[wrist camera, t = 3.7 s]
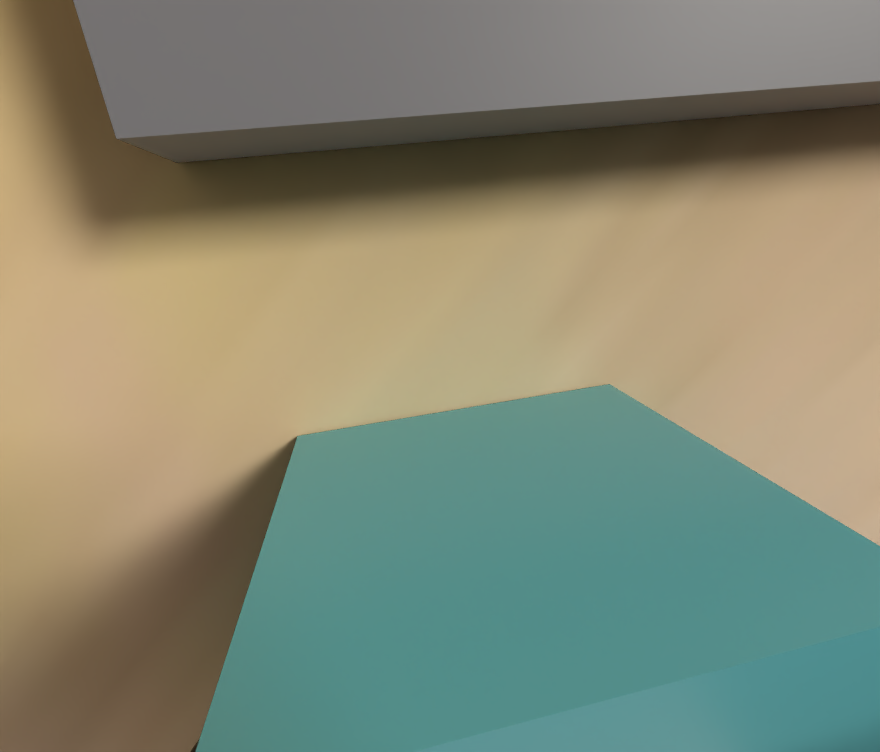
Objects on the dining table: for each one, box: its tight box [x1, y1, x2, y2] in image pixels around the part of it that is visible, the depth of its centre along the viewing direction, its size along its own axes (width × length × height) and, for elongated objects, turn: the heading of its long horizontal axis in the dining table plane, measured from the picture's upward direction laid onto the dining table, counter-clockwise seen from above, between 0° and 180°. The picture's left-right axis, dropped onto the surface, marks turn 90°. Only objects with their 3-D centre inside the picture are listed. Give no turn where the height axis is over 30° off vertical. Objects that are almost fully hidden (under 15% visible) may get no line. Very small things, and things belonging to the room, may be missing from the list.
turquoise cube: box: [196, 384, 880, 752], centre depth 6 cm, size 6×6×5 cm
